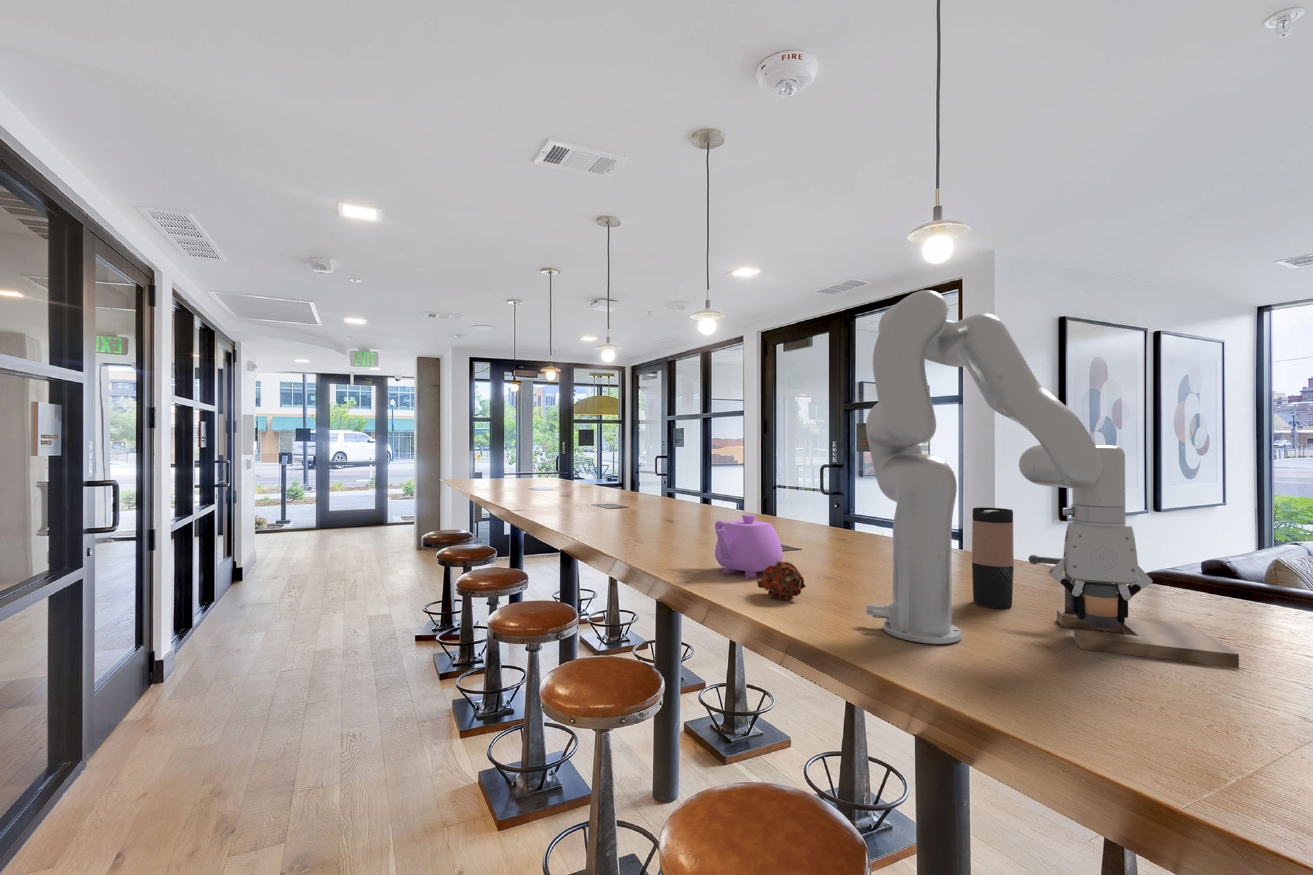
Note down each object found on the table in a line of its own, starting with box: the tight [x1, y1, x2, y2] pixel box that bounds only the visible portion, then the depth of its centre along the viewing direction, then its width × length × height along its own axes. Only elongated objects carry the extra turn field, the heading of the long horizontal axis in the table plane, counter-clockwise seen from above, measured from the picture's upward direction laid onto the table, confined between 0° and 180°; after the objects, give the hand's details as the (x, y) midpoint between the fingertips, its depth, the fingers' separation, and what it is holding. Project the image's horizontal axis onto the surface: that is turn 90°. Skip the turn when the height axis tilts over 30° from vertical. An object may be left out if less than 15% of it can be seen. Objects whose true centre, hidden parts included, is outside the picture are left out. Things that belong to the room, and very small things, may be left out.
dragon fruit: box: [756, 561, 807, 601], centre depth 132 cm, size 8×8×12 cm
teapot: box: [714, 514, 784, 579], centre depth 157 cm, size 20×20×15 cm
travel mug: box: [971, 506, 1015, 610], centre depth 127 cm, size 8×8×20 cm
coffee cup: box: [1081, 581, 1118, 628], centre depth 106 cm, size 5×5×7 cm
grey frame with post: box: [1028, 554, 1240, 669], centre depth 105 cm, size 25×18×14 cm
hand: (1099, 618), depth 106 cm, fingers closed on coffee cup, 5 cm apart
